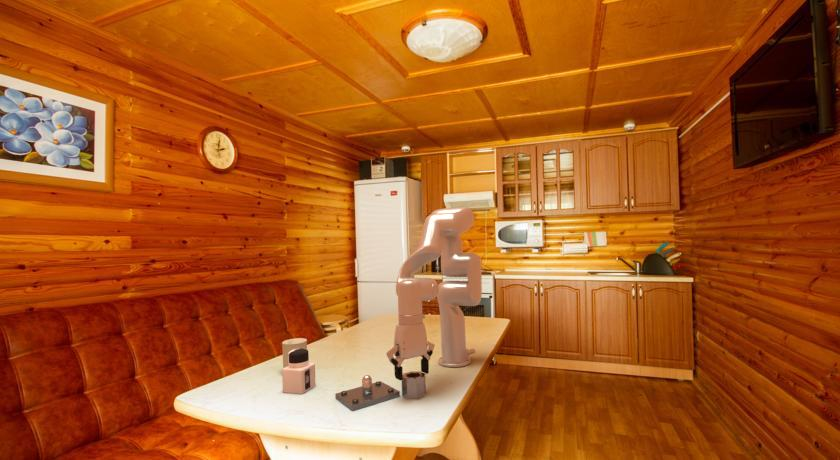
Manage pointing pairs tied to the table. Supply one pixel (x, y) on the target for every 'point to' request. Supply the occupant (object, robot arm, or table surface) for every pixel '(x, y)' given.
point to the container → (298, 372)
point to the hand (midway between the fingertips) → (412, 375)
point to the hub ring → (413, 385)
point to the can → (292, 347)
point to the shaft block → (367, 394)
